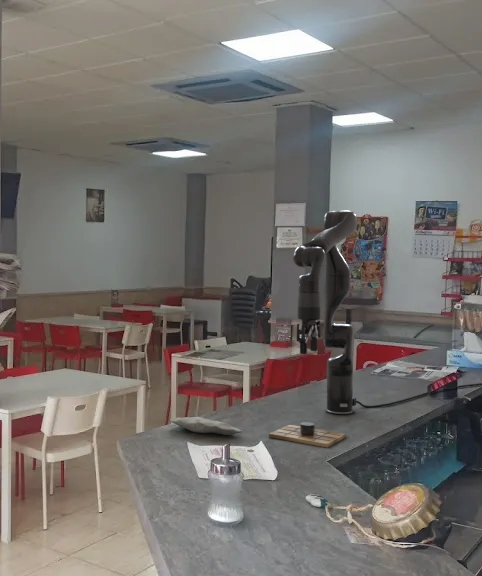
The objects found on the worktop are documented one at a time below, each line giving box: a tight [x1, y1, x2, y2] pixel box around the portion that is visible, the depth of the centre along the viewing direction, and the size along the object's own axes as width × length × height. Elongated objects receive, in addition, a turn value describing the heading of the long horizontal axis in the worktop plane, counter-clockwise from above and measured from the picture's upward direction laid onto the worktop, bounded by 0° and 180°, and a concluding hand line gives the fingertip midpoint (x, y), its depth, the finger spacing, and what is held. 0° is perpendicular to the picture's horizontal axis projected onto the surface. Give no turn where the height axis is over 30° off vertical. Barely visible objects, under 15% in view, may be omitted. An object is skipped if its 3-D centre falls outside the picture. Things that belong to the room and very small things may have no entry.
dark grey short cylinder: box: [299, 421, 316, 435], centre depth 235 cm, size 5×5×3 cm
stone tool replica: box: [169, 416, 243, 436], centre depth 241 cm, size 15×5×25 cm
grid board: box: [268, 424, 347, 448], centre depth 235 cm, size 15×20×1 cm
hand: (308, 352), depth 246 cm, fingers open, 8 cm apart
